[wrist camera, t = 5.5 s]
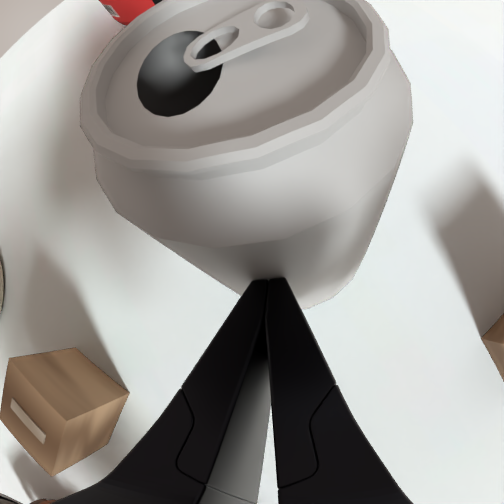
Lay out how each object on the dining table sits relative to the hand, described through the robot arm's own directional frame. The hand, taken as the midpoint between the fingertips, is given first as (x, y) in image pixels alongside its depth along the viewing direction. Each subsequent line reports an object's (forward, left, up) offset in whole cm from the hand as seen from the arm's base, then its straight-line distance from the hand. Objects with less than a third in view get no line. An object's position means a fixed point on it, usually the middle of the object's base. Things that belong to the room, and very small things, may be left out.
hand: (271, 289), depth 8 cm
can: (+2, +2, -8) cm, 8 cm away
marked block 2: (-14, +6, -8) cm, 17 cm away
